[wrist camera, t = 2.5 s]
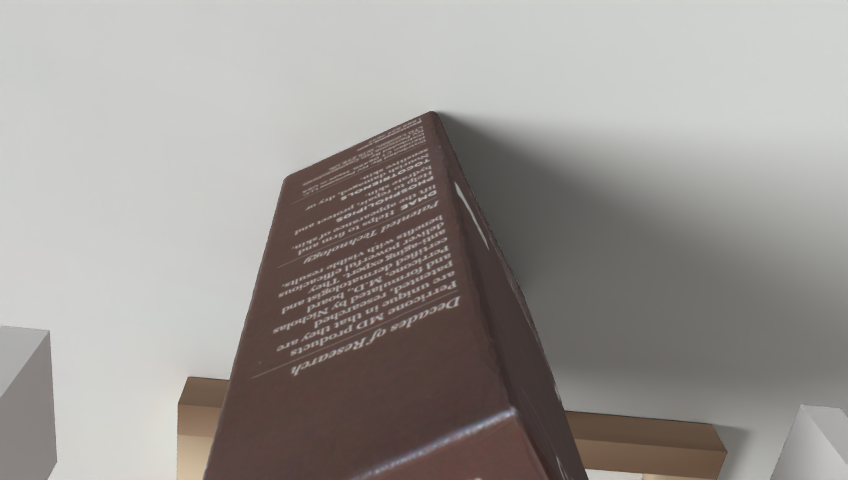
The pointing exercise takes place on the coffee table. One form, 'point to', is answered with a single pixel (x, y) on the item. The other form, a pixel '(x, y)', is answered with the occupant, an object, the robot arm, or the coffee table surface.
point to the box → (389, 333)
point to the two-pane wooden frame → (593, 433)
